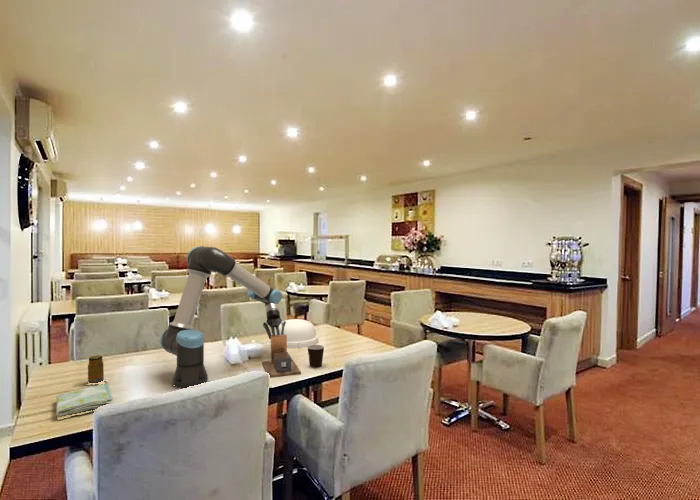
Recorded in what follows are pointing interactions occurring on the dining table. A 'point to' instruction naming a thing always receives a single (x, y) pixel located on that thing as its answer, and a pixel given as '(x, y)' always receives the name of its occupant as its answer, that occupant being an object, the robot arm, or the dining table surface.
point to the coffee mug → (315, 355)
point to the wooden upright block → (278, 346)
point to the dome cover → (299, 333)
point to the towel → (83, 400)
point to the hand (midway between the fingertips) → (278, 349)
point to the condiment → (95, 369)
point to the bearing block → (282, 358)
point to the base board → (272, 372)
